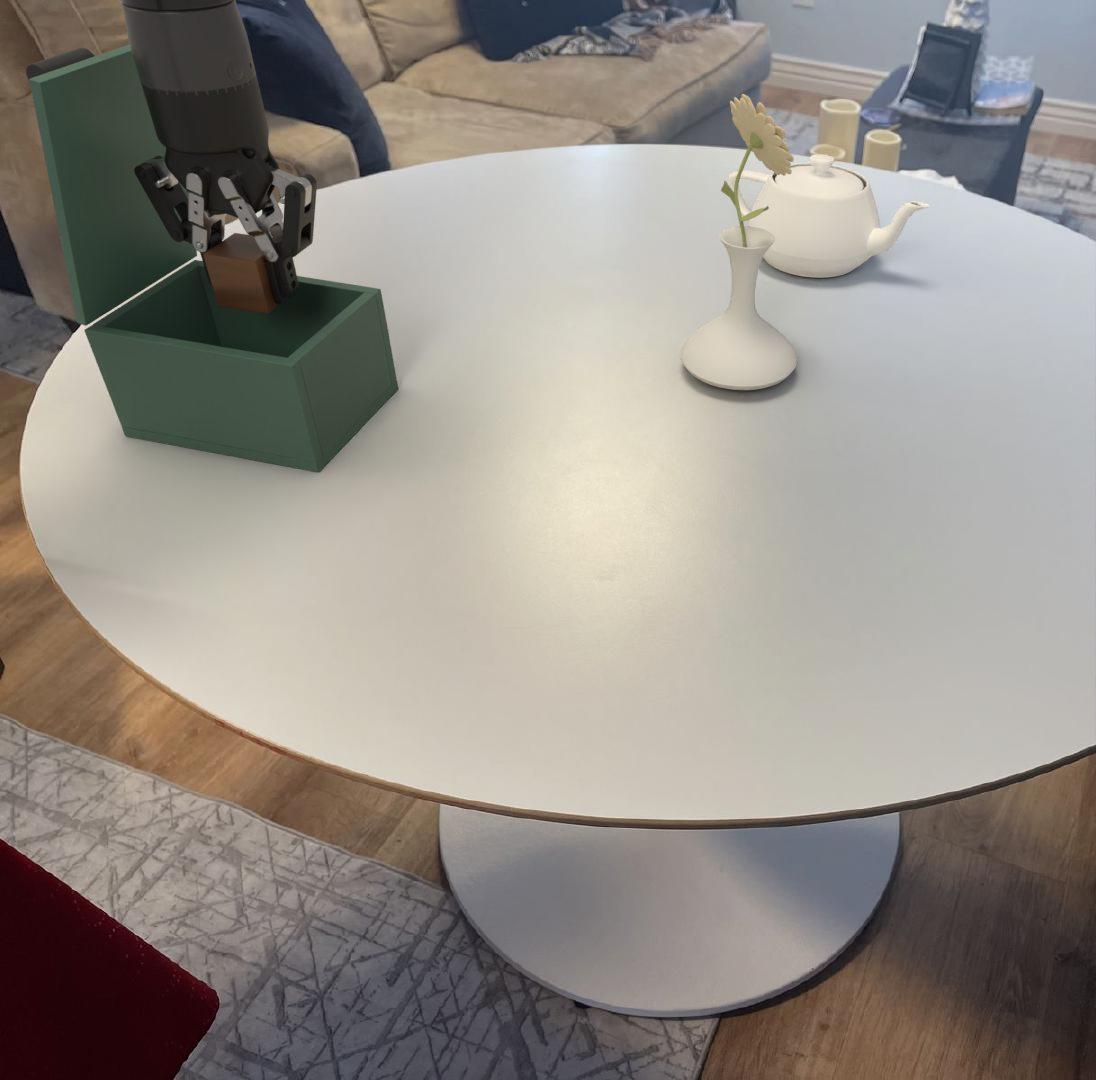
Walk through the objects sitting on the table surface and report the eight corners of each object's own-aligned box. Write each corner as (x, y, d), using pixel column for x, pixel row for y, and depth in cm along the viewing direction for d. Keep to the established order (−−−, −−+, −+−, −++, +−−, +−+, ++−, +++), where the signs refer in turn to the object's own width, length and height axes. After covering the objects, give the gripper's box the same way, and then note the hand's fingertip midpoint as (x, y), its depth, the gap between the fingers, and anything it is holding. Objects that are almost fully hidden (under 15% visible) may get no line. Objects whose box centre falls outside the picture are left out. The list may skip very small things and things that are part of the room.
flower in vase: (807, 398, 95) (841, 127, 79) (689, 405, 93) (699, 128, 77) (776, 333, 105) (801, 81, 89) (669, 338, 103) (674, 80, 87)
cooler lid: (175, 35, 77) (113, 12, 77) (39, 82, 66) (-33, 57, 66) (197, 256, 89) (143, 236, 89) (86, 326, 78) (25, 304, 78)
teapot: (694, 258, 119) (697, 153, 111) (754, 217, 129) (761, 119, 122) (890, 313, 110) (909, 204, 102) (937, 264, 121) (957, 162, 113)
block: (268, 313, 80) (255, 261, 77) (217, 306, 80) (202, 254, 77) (297, 290, 83) (285, 239, 80) (248, 283, 83) (234, 232, 81)
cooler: (398, 388, 93) (381, 288, 87) (318, 472, 82) (291, 365, 76) (224, 358, 95) (194, 259, 89) (125, 436, 85) (83, 329, 78)
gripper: (318, 68, 72) (360, 288, 83) (139, 48, 74) (203, 266, 85) (262, 97, 67) (315, 328, 78) (69, 74, 68) (147, 304, 79)
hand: (256, 294), depth 81 cm, fingers closed on block, 4 cm apart
